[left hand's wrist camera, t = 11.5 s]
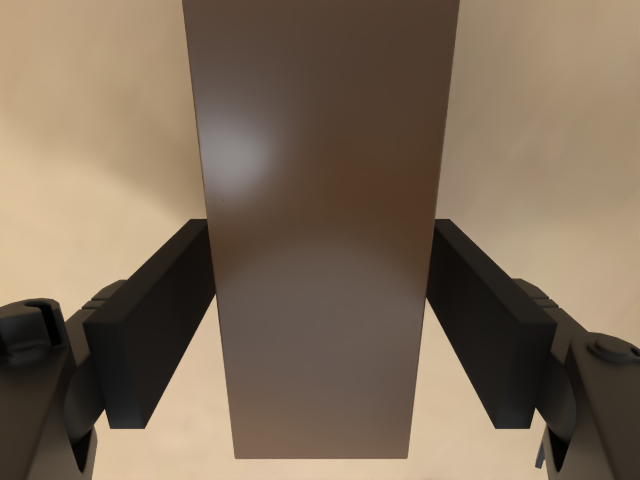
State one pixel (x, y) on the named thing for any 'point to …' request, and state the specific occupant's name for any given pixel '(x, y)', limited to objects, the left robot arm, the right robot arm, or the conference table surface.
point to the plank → (321, 211)
